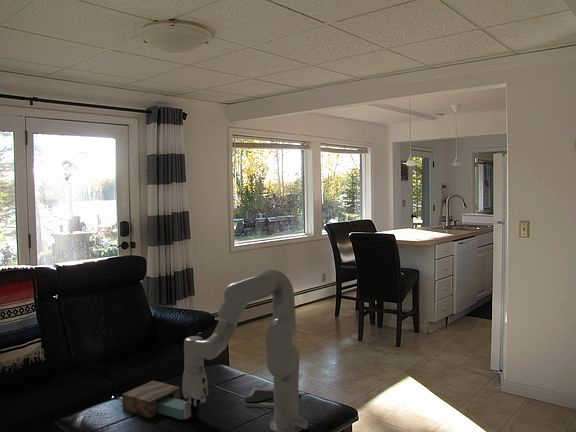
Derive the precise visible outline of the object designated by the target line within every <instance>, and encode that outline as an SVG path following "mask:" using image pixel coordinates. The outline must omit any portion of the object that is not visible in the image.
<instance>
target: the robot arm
mask: <svg viewBox="0 0 576 432" xmlns="http://www.w3.org/2000/svg"><path fill="white" fill-rule="evenodd" d="M223 296H224V299H223V302H222V303H221V305H220V307H219V309H218V312H217V314H218V315H217V316H218V317H219V319H218V323H217V325H216V327H215V329H214V330H213V332H212V334H211V336H209V337H208V338H206V339H203V337H202V336H197V335H192V336H189V337H188V336H187V337H186V338H185V339H184V341H183V355H184V357H183V358H184V359H183V360H184V366H183V367H184V371H183V373H182V383H181V387H182V391H181V392H182V395H183V398H185V399H187V400H186V401H189V405H191V415H193V417H196V416H197V415H199V414H200V405H201V404H202V403H205V402H206V401H207V398H206V397H208V396H209V386H208V385H209V384H208V376H207V374H206V368H205V363H204V361H205V360H206V361H207V360H210V361H211V360H214V359H216V358H217V357H218V356H219V355H220V354H221V353H222V352H223V351H225V349H226V348H227V346H228V345H229V343H230V341H231V339H232V337H233V335H234V333H235V330H236V329H237V325H238V323H239V320H240V318H241V316H242V314H243V313H244V311H245V309H246V306H247V305H248V304H250V303H252V302H255V301H256V302H257V301H259V300H262V299H265V298H267V297H270V296H272V302H271V303H272V305H271V308H272V309H271V311H272V322H271V323H270V325H269V326H268V328H267V330H266V333H265V344H266V345H265V346H266V365H267V370H268V372H269V373H270V375H272V377H273V380H272V381H273V390H274V408H273V420H271V421H270V423H269V429H270V430H271V431H272V432H300V431H302V430H303V429H304V430H306V429H308V420H303V419H302V414H299V413H300V412H299V411H300V410H299V409H300V405H299V404H300V403H299V402H300V401H299V398H300V397H299V395H300V391H299V390H300V389H299V386H300V385H299V383H300V382H299V379H300V378H299V376H300V374H299V373H300V352H299V350H298V348H297V346H295V345H294V344H293V339H294V337H295V336H296V333H297V321H296V319H297V318H296V307H295V303H296V302H295V292H294V287H293V284H292V282H291V280H290V278H288V276H286V274H284V273H283V272H282V271H279V270H277V269H267V270H264V271H262V272H261V273H260V274H257V275H255V276H252V277H249V278H246V279H237V280H234V281H233V282H232V283H230V284H228V285H227V286H226V287H225V290H224V293H223Z"/></svg>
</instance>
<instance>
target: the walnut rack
mask: <svg viewBox="0 0 576 432" xmlns="http://www.w3.org/2000/svg"><path fill="white" fill-rule="evenodd" d="M121 395H122V398H121V399H122V401H121V402H122V410H125V411H127V412H129V413H134V414H135V415H136V414H137V415H139V416H142V417H146V418H149V419H150V418H153V417H155V416H157V414H158V413H157V408H156V402H158V401H160V400H163V399H165V398H167V397H172V398H176V399H179V400H181V388H180V386H176V385H173V384H172V385H171V384H168V383H165V382H160V381H156V380H151V381H149V382H146V383H145V384H142V385H139V386H137V387H135V388H133V389H131V390H128V391H126V392H124V393H122V394H121Z"/></svg>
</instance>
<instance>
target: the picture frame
mask: <svg viewBox="0 0 576 432" xmlns="http://www.w3.org/2000/svg"><path fill="white" fill-rule="evenodd" d="M243 407H249V408H264V409H268V408H269V409H274V388H273V389H268V388H254V387H253V388H252V390H251V392H250V393H249V395H248V396H246V397H245V399H244V400H243Z"/></svg>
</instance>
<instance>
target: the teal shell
mask: <svg viewBox="0 0 576 432" xmlns="http://www.w3.org/2000/svg"><path fill="white" fill-rule="evenodd" d="M156 408H157V414H160V415H163V416H168V417H170V416H171V418H174V419H177V420H181V421H184V420H185V419H186V420H188V419H189V418H191V417H192V415H191V405H189V401H188V400H183V399H180V400H179V399H176V398H172V397H167V398H165V399H163V400H160V401H156ZM190 416H191V417H190Z"/></svg>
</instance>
